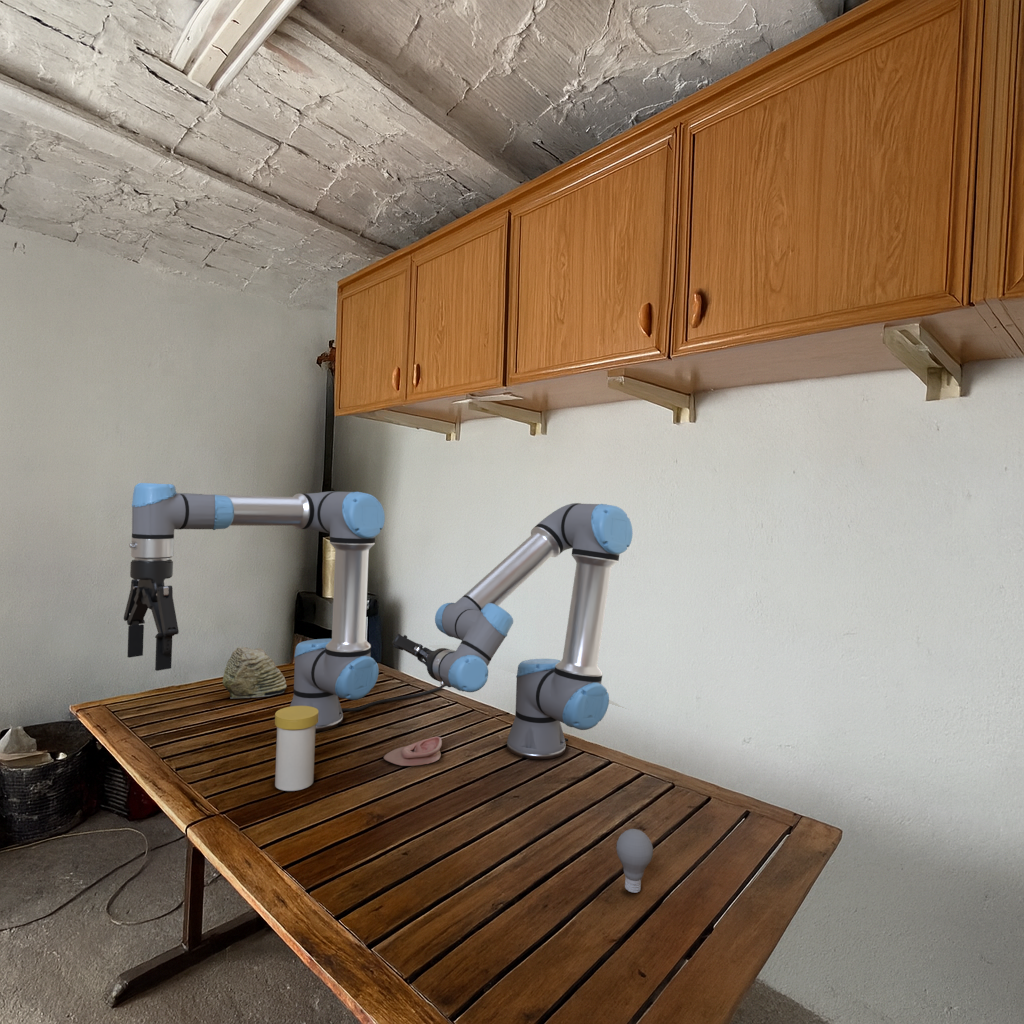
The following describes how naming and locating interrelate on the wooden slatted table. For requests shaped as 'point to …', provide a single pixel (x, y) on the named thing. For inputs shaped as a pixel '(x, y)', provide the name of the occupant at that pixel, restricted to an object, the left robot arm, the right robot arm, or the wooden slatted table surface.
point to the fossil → (252, 674)
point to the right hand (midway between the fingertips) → (418, 656)
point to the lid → (296, 717)
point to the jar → (295, 758)
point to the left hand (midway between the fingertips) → (148, 662)
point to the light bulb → (634, 857)
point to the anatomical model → (416, 753)
